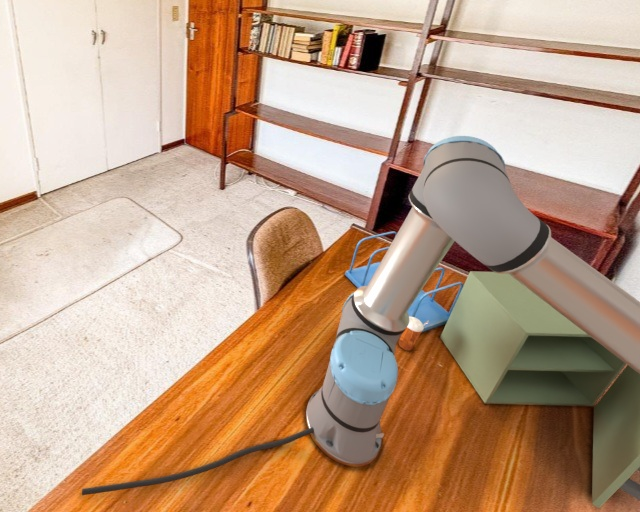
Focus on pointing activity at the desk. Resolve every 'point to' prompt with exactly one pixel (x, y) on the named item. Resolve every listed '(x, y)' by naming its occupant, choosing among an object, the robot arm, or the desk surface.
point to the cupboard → (524, 347)
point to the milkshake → (411, 333)
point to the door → (617, 439)
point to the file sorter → (423, 304)
